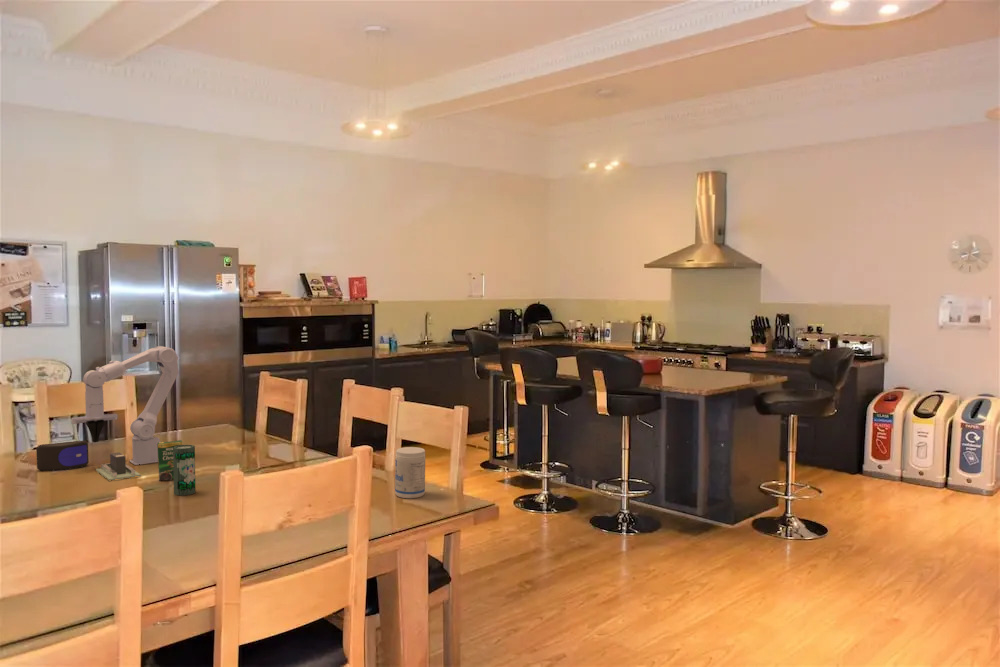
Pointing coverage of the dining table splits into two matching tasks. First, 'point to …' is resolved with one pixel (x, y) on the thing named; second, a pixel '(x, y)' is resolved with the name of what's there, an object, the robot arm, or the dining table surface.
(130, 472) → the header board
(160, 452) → the coffee box
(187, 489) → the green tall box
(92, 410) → the robot arm
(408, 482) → the supplement tub
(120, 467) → the brown block
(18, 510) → the dining table surface
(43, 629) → the dining table surface
